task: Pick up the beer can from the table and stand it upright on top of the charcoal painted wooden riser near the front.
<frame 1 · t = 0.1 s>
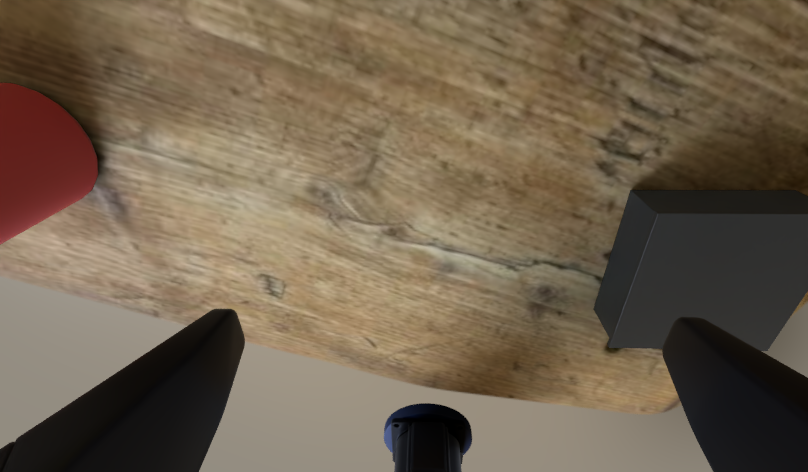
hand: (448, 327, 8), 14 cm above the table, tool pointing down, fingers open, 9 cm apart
beer can: (46, 142, 21), on the table
riser: (683, 255, 23), on the table
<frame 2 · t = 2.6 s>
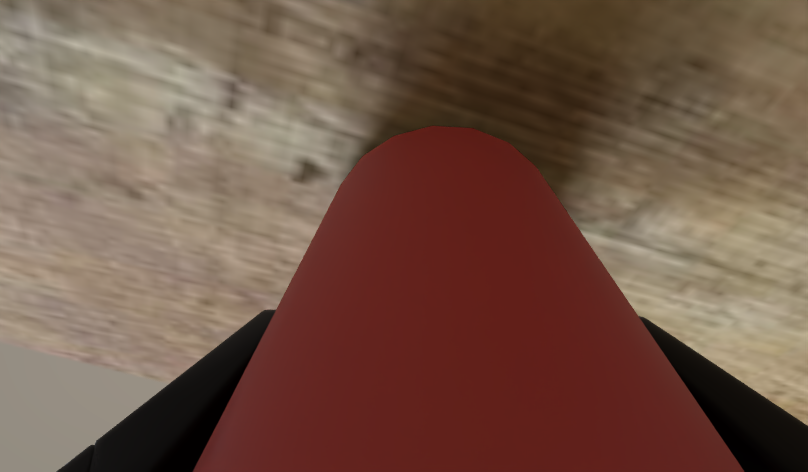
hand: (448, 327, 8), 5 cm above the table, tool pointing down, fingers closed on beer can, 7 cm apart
beer can: (440, 222, 12), on the table, touching gripper
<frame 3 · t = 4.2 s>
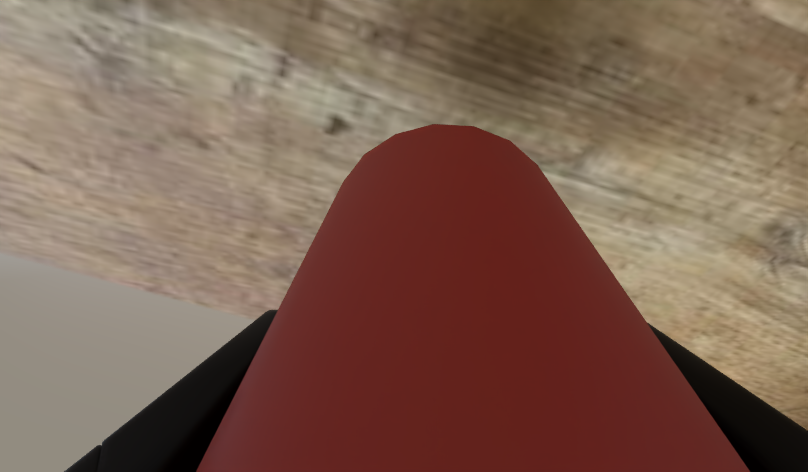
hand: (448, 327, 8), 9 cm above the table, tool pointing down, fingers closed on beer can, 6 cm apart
beer can: (441, 220, 12), point 4 cm above the table, touching gripper
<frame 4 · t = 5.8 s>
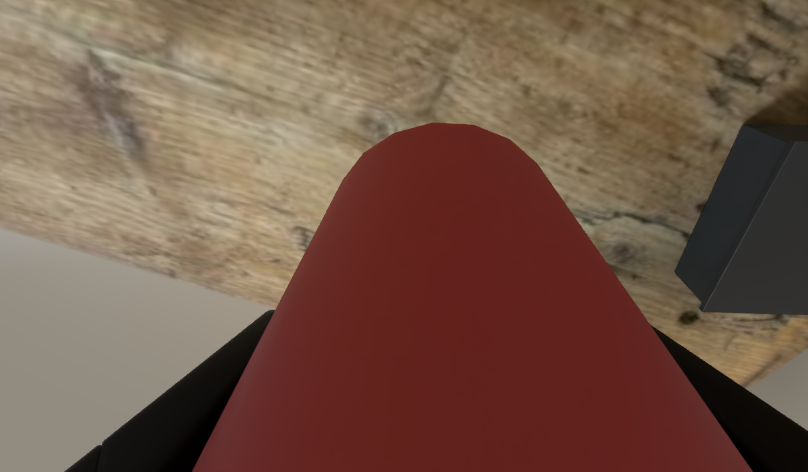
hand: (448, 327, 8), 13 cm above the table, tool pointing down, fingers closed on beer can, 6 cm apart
beer can: (441, 220, 12), point 8 cm above the table, touching gripper
riser: (789, 208, 20), on the table
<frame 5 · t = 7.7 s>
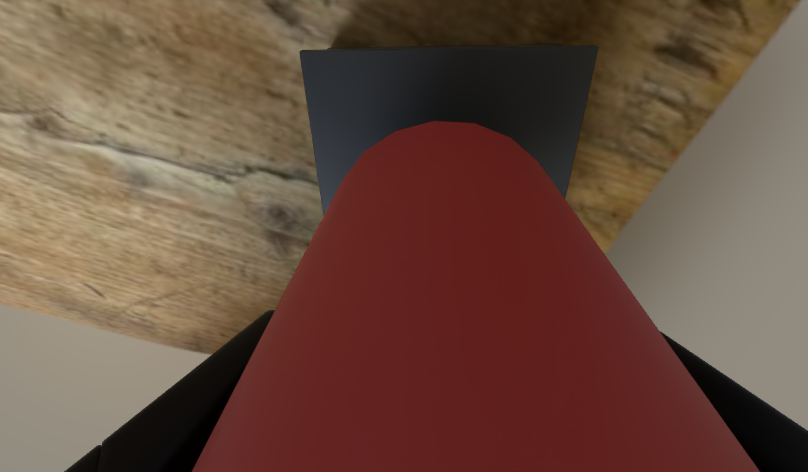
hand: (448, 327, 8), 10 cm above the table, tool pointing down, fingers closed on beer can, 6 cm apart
beer can: (441, 219, 12), point 5 cm above the table, touching gripper
riser: (438, 156, 17), on the table
when the fingers open (8 cm above the table, at t = 8.9 s): beer can stays where it is, resting on riser.
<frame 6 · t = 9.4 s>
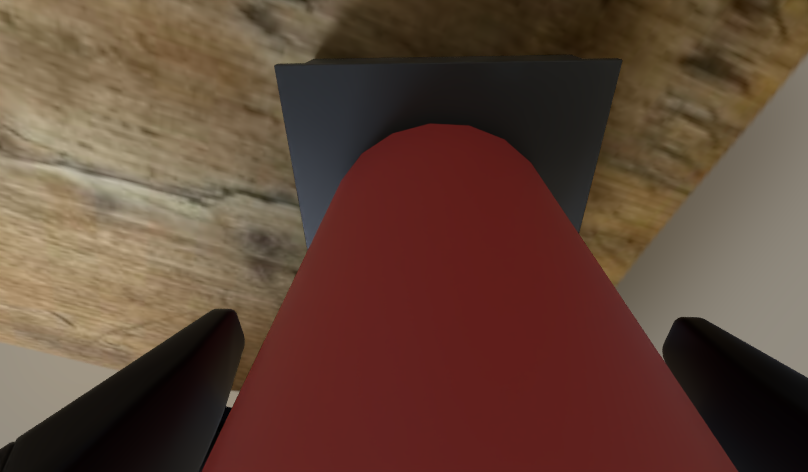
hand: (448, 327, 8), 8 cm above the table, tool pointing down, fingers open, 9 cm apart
beer can: (437, 217, 12), point 3 cm above the table, touching riser
riser: (436, 177, 15), on the table
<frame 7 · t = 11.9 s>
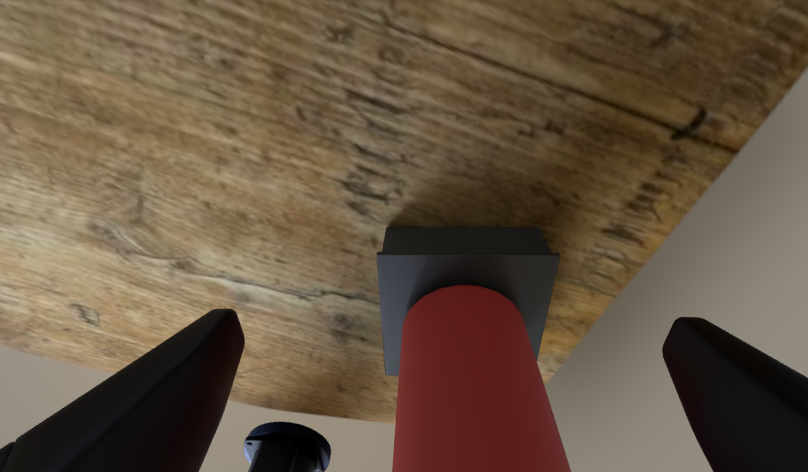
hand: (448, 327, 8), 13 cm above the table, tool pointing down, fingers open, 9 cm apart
beer can: (461, 322, 21), point 3 cm above the table, touching riser
riser: (458, 286, 24), on the table
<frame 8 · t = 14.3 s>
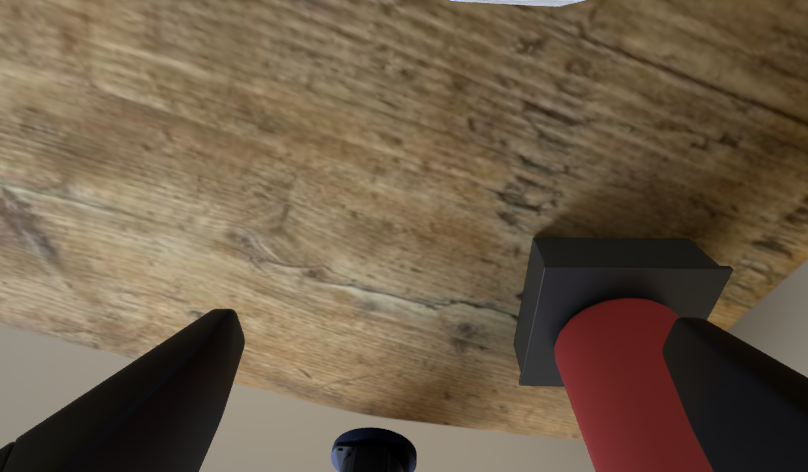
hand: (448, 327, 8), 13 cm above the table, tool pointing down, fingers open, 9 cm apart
beer can: (610, 334, 21), point 3 cm above the table, touching riser
riser: (592, 297, 24), on the table
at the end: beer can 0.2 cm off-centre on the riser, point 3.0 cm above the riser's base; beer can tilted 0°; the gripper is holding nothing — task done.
